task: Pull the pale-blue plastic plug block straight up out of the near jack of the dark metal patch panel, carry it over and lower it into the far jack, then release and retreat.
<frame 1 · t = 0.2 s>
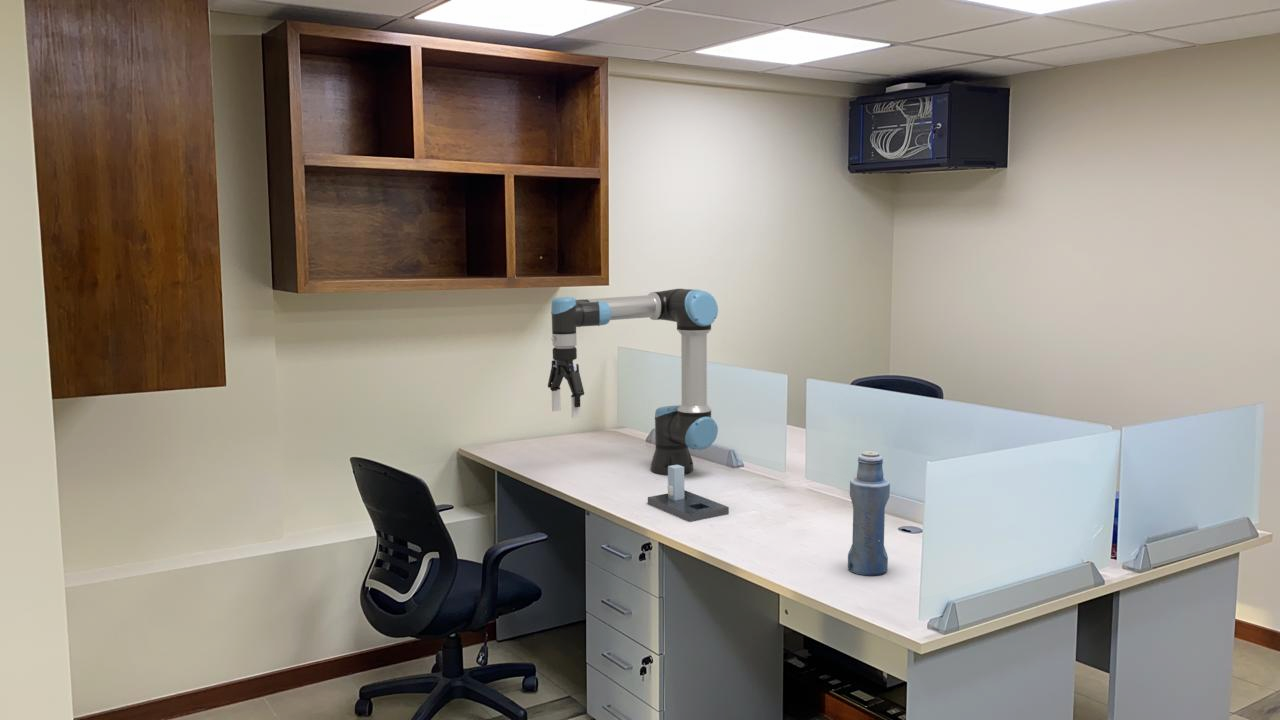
hand: (566, 414, 314), 28 cm above the table, fingers open, 13 cm apart
rj45 plug: (676, 504, 307), point 1 cm above the table, touching patch panel
bottle: (867, 570, 249), on the table
patch panel: (687, 511, 302), on the table
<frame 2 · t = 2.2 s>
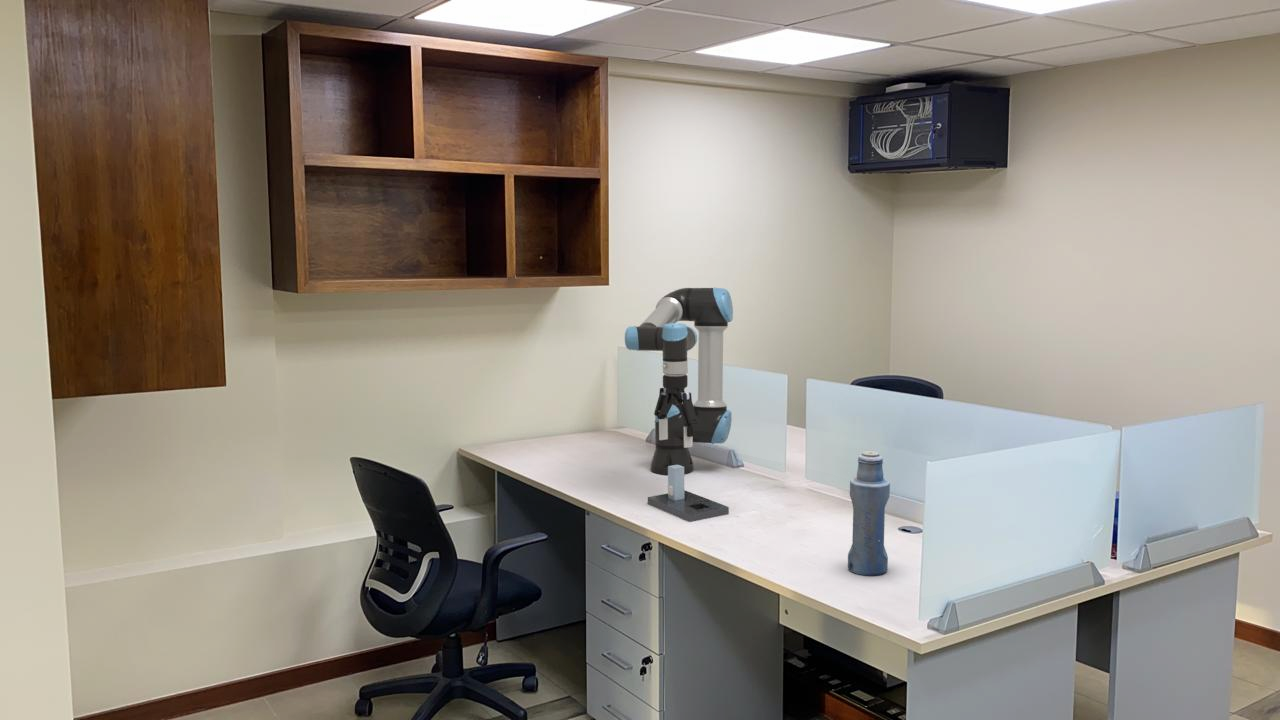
hand: (675, 443, 305), 20 cm above the table, fingers open, 13 cm apart
nothing on the table moved.
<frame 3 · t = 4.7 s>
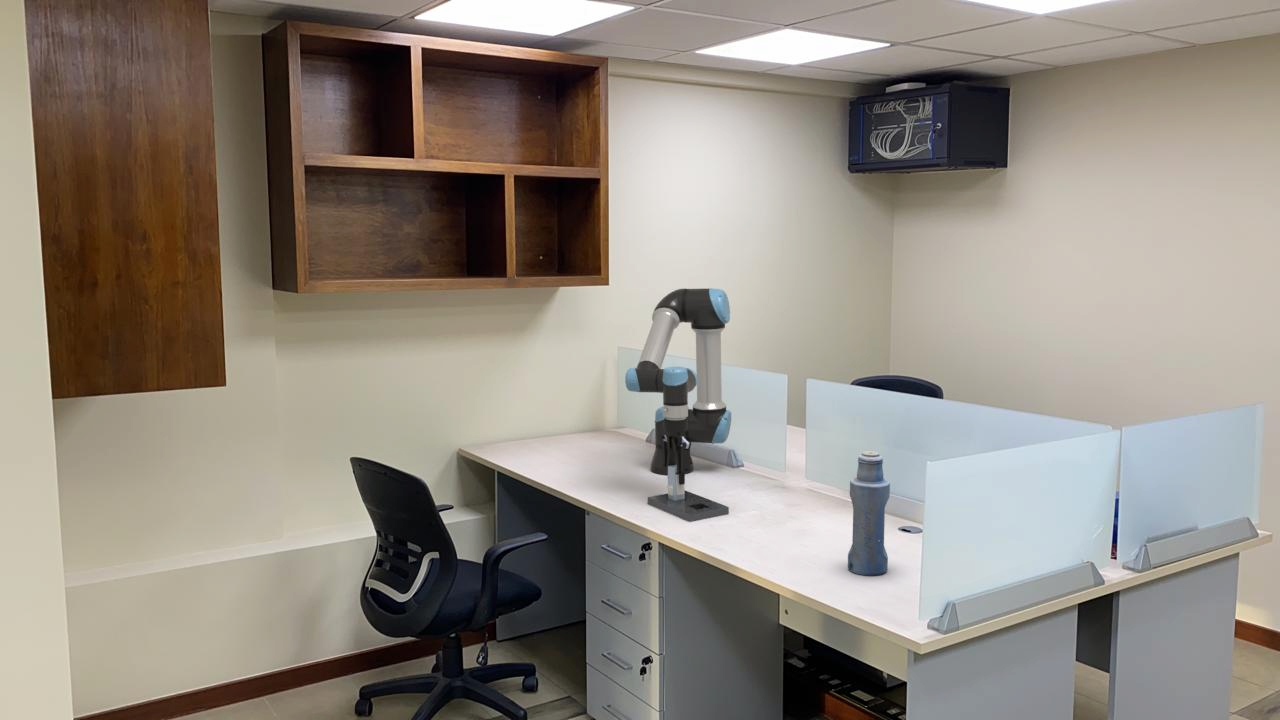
hand: (676, 492, 307), 5 cm above the table, fingers closed on rj45 plug, 4 cm apart
rj45 plug: (676, 504, 307), point 1 cm above the table, touching gripper, patch panel
everything else where it was.
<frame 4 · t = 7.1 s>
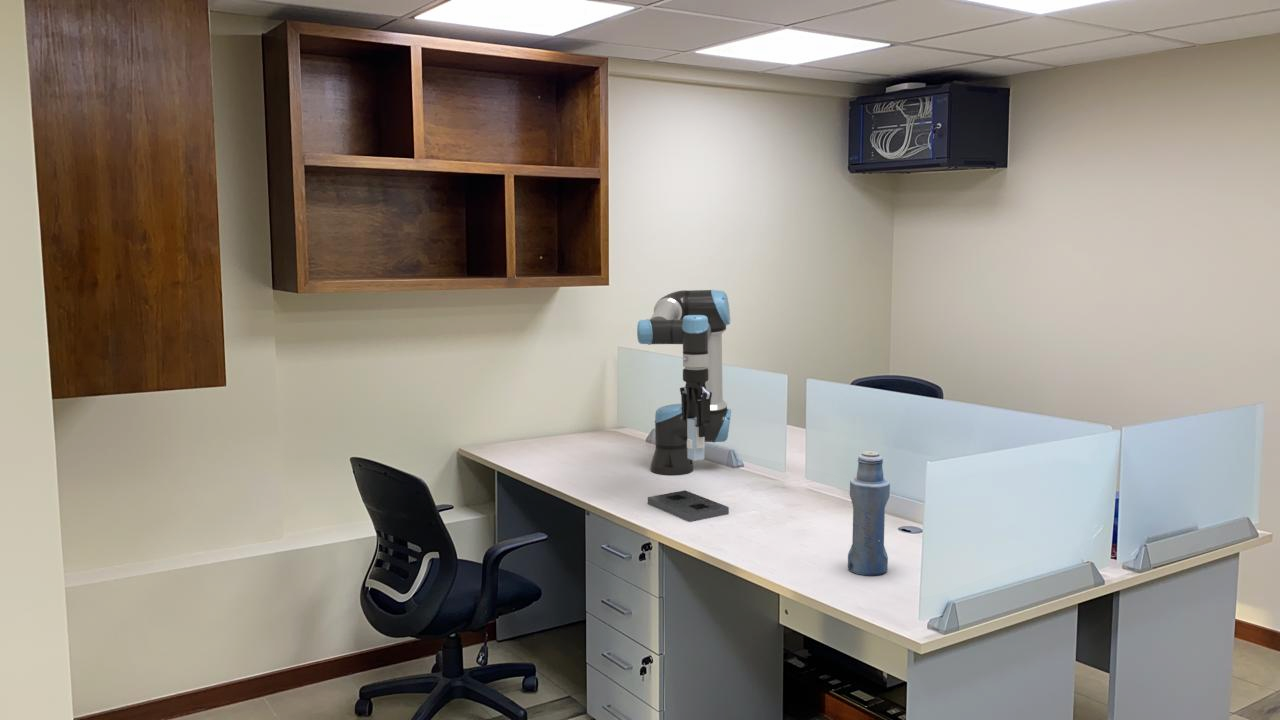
hand: (696, 446, 295), 21 cm above the table, fingers closed on rj45 plug, 4 cm apart
rj45 plug: (695, 458, 295), point 17 cm above the table, touching gripper
everything else where it was.
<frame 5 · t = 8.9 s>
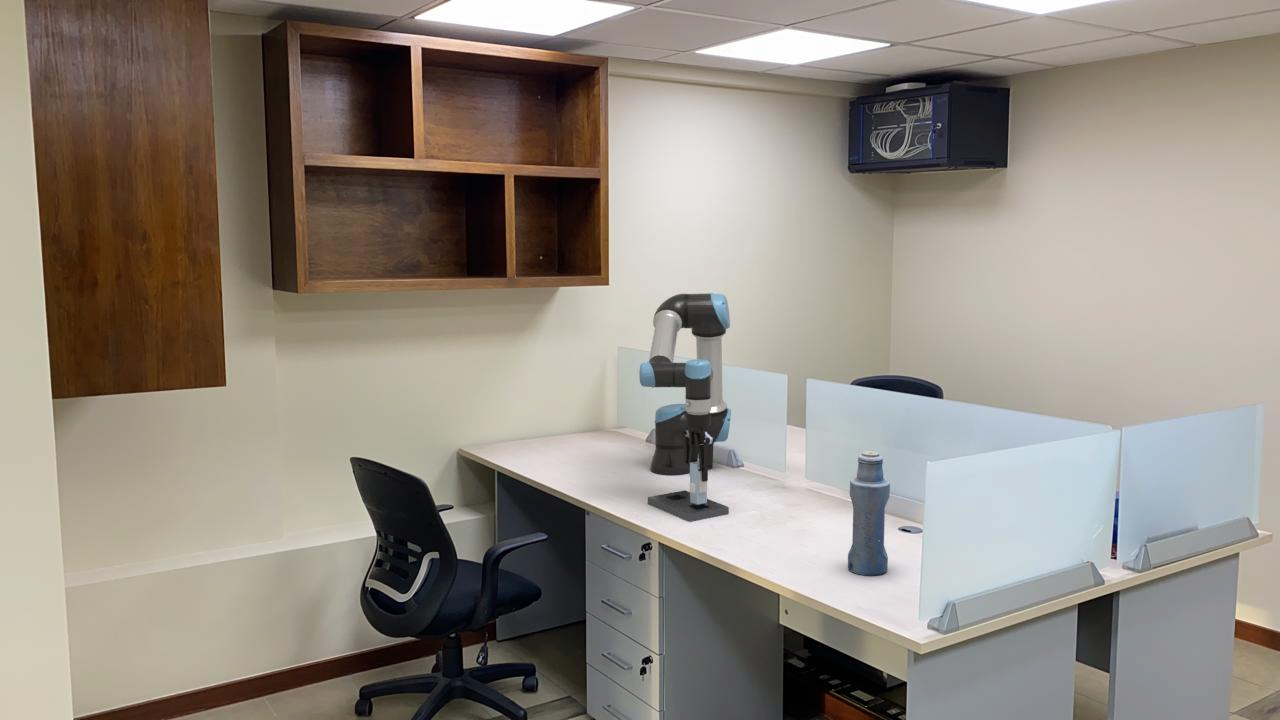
hand: (698, 489, 296), 8 cm above the table, fingers closed on rj45 plug, 4 cm apart
rj45 plug: (698, 502, 297), point 4 cm above the table, touching gripper
everything else where it was.
when the fingers open (5 cm above the table, at t = 10.0 s): rj45 plug stays where it is, resting on patch panel.
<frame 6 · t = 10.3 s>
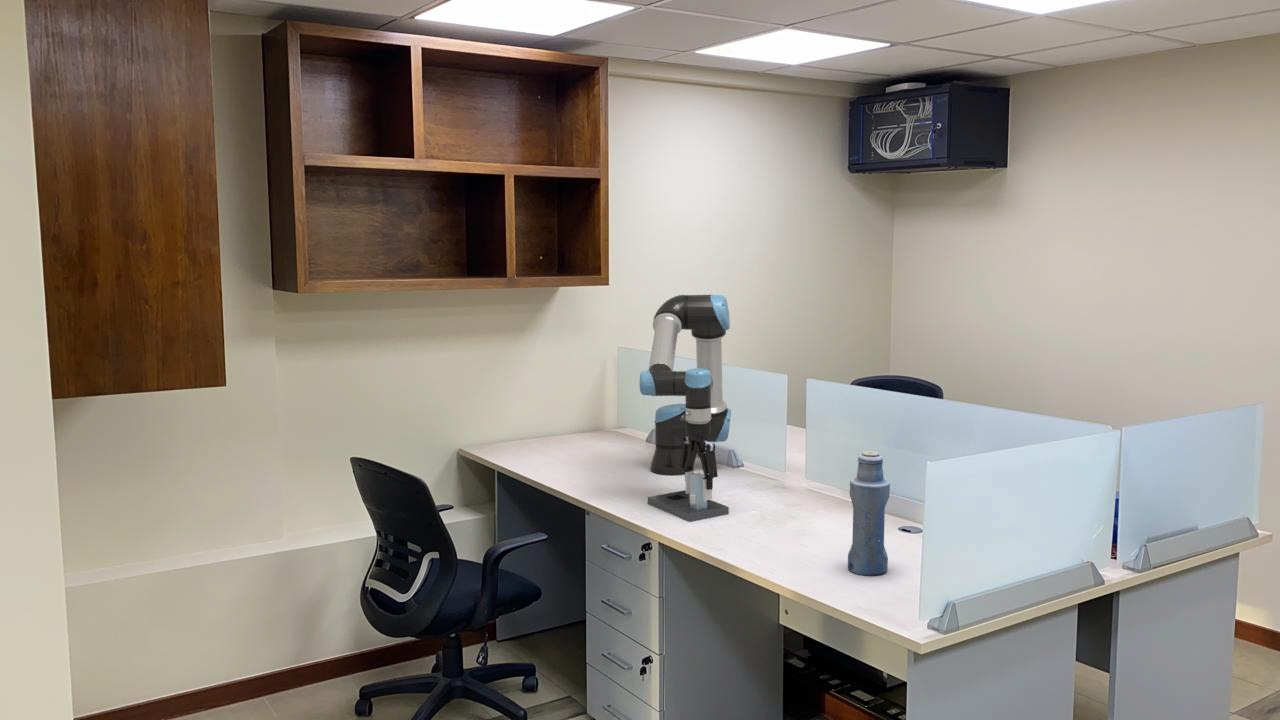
hand: (698, 496, 297), 6 cm above the table, fingers open, 8 cm apart
rj45 plug: (698, 513, 297), point 1 cm above the table, touching patch panel
everything else where it was.
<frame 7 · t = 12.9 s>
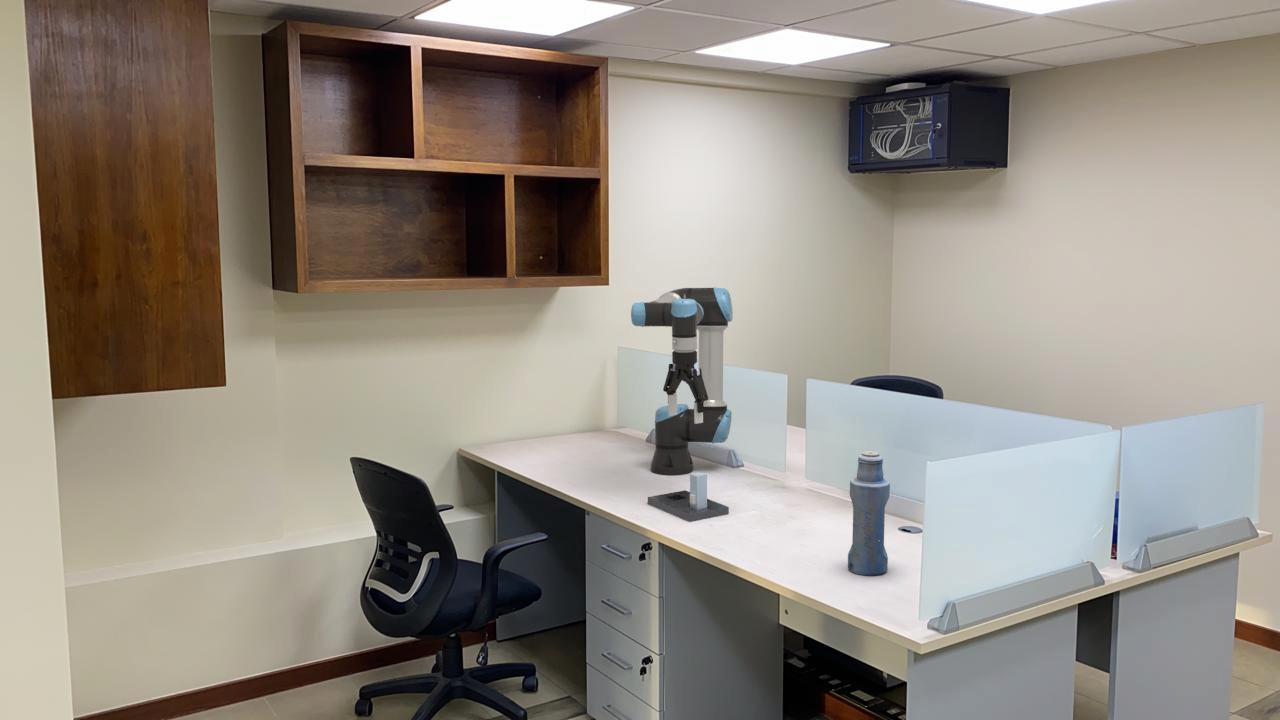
hand: (685, 419, 305), 27 cm above the table, fingers open, 13 cm apart
nothing on the table moved.
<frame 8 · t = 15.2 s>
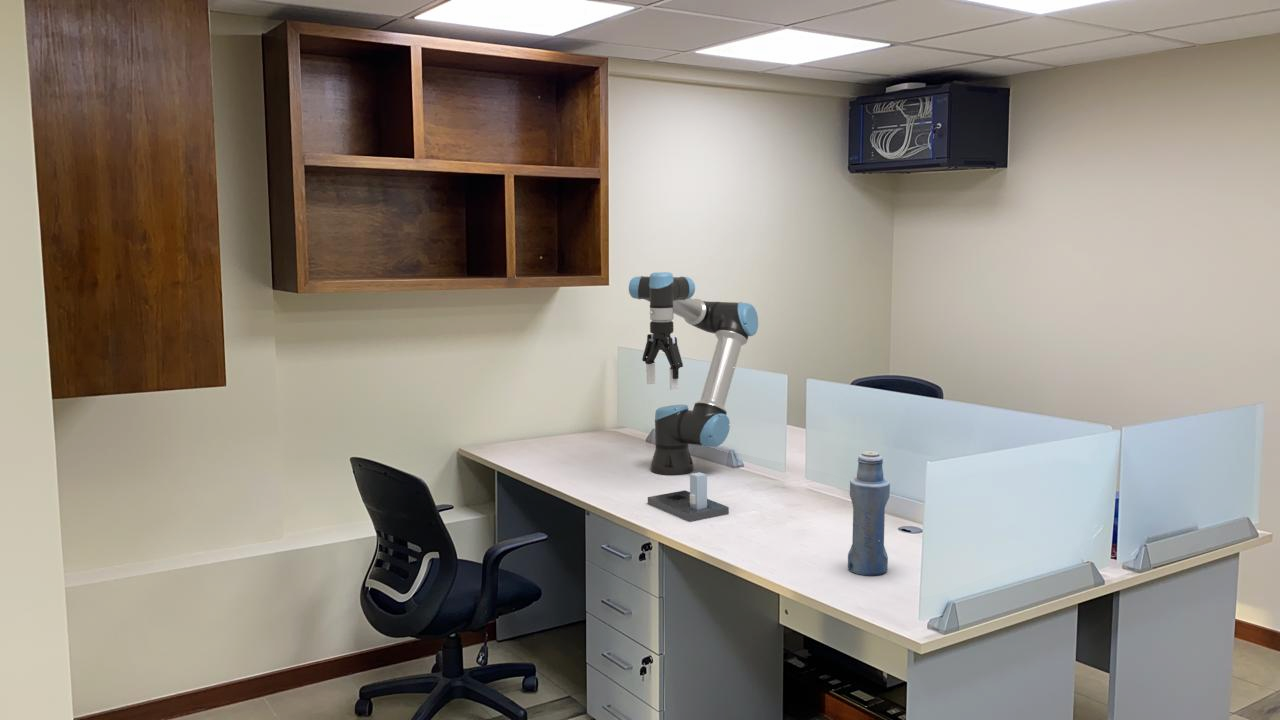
hand: (662, 386, 322), 35 cm above the table, fingers open, 13 cm apart
nothing on the table moved.
at the end: rj45 plug 0.0 cm from the target spot on the patch panel, point 0.8 cm above the patch panel's base; rj45 plug tilted 0°; the gripper is holding nothing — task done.
